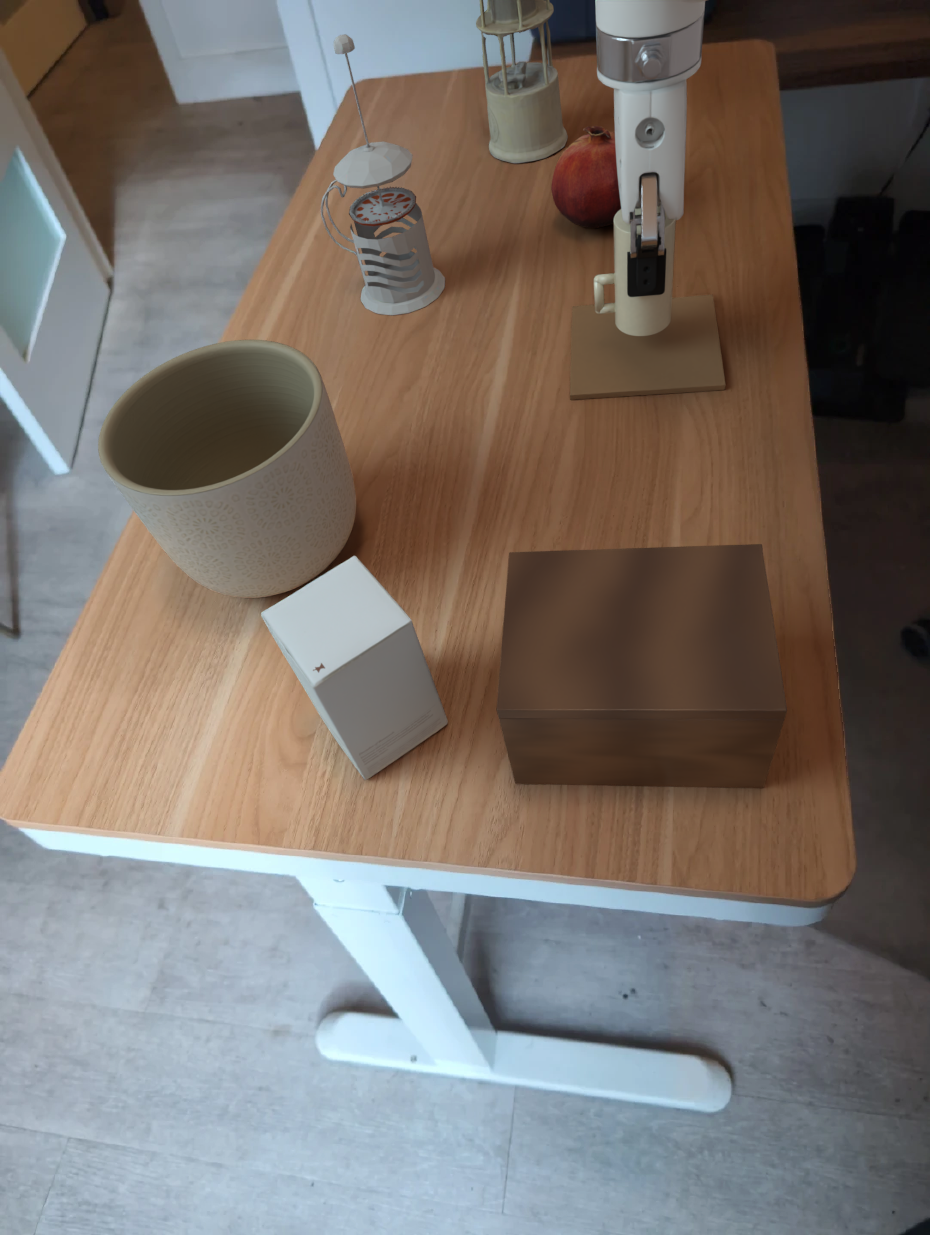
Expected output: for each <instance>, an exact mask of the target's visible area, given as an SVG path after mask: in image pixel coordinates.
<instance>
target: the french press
mask: <svg viewBox="0 0 930 1235" xmlns="http://www.w3.org/2000/svg"><path fill="white" fill-rule="evenodd" d="M332 46H333V51H334V53H335V54H336V55H344V56H345V60H346V64H347V69H348V72H349V77H350V81H351V85H352V88H353V89H352V90H353V94H354V98H355V102H356V105H357V111H358V114H359V117H360V122H361V126H362V130H363V134H364V139H365V142H366V144H363V145H361V146H358V147H356V148H354V149H351V150H350V151H349V152H348V153H346V155H344V156H343V157H342V159H341V160H340V161H339V162H338V163H337V164H335V166H334V168H333V173H332V175H333V177H334V178H335V179H334V180H332V181H331V182H330V184H329V185H328V188H327V189H326V191H325V193H324V194H323V196H322V198H321V202H320V203H321V204H320V217H321V220H322V222H323V225H324V229H325V231H326V232H327V234H328V236H329V237H330V238H331V239H332V241H333V242H334V243H335V244H336V245H337V246H339V247H340V248H341V249H342V250H344V251H347V252H350V253H351V254H354V255H355V256H356V258H357V261H358V266H359V268H360V271H361V276H362V278H363V282H364V286H363V288H362V289H361V291H360V292H361V294H360V302H361V303H362V305H363V306H364V308H365V309H366V310H368V311H370V312H373V313H375V314H377V315H386V316H396V315H404V314H410V313H412V312H416V311H419V310H420V309H423V308H425V307H428V306H429V305H430V304H431V303H433V302H434V301H436V300H437V299H438V298H439V297H440V295H441V294H442V292H443V291H444V289H445V288H446V286H445V285H446V277H445V276H444V275H443V273H442V272H441V270H439V269H438V268H436V267H434V264H433V259H432V254H431V251H430V250H431V249H430V245H429V240H428V236H427V231H426V227H425V221H424V217H423V212H422V209H421V207H420V206H419V204H418V203H417V196H416V195H415V193H414V192H413V191H412V190H411V189H407V188H405V187H402V186H398V187H397V186H389V187H388V186H386V187H383V188H382V187H381V186H384V185H387V184H391V183H393V182H395V181H396V180H398V179H400V178H401V177H403V176H405V175H406V173H407V172H408V171H409V170H410V169H411V167H412V162H413V156H414V155H413V154H412V153H411V151H410V150H409V148H406V147H404V146H401V145H399V144H396V143H391V142H388V141H373V142H369V139H368V135H367V130H366V126H365V122H364V118H363V114H362V109H361V104H360V101H359V97H358V93H357V89H356V85H355V80H354V77H353V72H352V68H351V63H350V59H349V55H348V54H349V53H351V52H353V51H354V50H355V49H356V47H355V43H354V39H353V38H352V37H351V36H350V35H348V34H347V33H345V34H339V35H338V36H336V37H335V38H334V40H333V44H332ZM336 183H339V184H340V185H342V186H343V188H344V190H343V191H342V188H341V187H340V186H339V185H335V184H336ZM376 187H377V188H376ZM348 188H349V189H370V188H376V189H374V190H371V191H368V192H365V193H363V194H362V195H360V196H358V198H356V199H355V200H354V201H352V203H351V205H349V209H348V215H349V217H350V218H351V220H352V221H353V224H354V227H355V231H356V234H355V232H354V229H353V228H354V227H353V224H352V223H350V225H349V230H350V234H351V237H352V239H351V238H349V237H348V236H346V235H345V234H344V233H342V232H341V231H340V229H339V228H338V226H336V223H335V222H334V220H333V218H332V215H331V212H330V207H329V194H330V192H331V191H332V190H334V189H337V191H338V193H339V196H340V197H341V198H345V197H346V194H347V191H348ZM324 206H325V209H326V213H327V217H328V219H329V221H330V223H331V225H332V226H333V228H334V229H335V231H336V232H337V233H338V235H339V236H341V237H342V238H343V239H344V240H346V241H347V242H350V243H352V244H354V248H355V250H356V251H354V250H352V249H350V248H348V247H346V246H345V245H343V244H342V243H340V242H338V241H337V239H336V238H335V237H334V236H333V234H332V233H331V231H330V229H329V228H328V225H327V222H326V218H325V216H324ZM406 216H408V217H409V218H411V219H413V220H414V221H415V223H413V222H411V221H409V220H408V219H406V218H404V217H406ZM393 223H401V224H404V225H406V226H407V227H409V228H408V229H407V228H405V227H403V226H390V227H387V228H386V229H384V230H382V231H380V233H378V234H377V235H376V236H375V233H376V232H377V231H378V230H379V229H380V227H382V226H386V225H391V224H393ZM391 234H396V235H393V236H389V235H391ZM387 236H388V237H387ZM413 249H414V250H416V252H414V251H413ZM360 251H361V252H360ZM382 253H385V254H384V255H383V256H381V254H382ZM363 262H364V264H363ZM366 272H367V274H366Z"/></svg>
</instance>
